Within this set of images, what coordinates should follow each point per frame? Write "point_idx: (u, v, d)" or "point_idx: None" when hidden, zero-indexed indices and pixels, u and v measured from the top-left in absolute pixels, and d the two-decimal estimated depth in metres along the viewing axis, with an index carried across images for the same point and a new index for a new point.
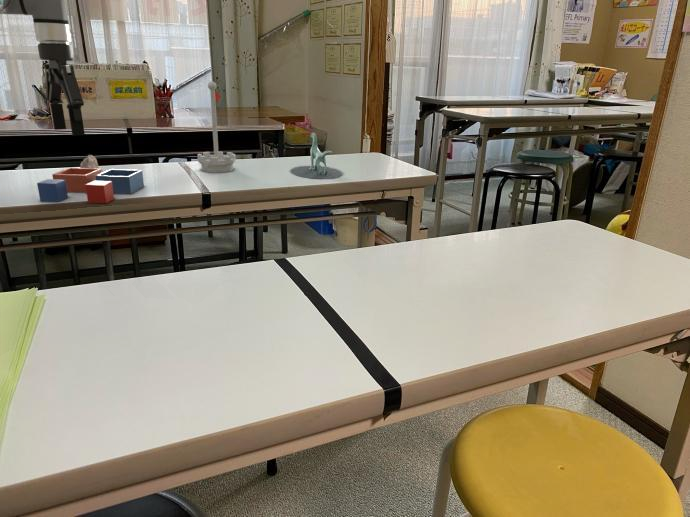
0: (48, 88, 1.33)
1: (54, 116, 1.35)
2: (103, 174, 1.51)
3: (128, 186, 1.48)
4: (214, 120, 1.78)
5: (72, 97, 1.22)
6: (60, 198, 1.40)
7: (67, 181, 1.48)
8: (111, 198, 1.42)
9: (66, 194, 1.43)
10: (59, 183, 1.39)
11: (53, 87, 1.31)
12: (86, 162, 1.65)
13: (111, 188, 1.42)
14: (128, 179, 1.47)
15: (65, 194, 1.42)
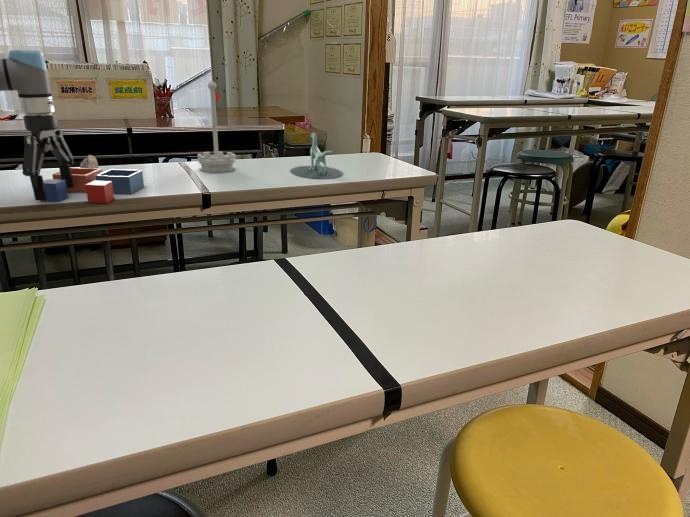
0: None
1: (62, 176, 1.46)
2: (103, 174, 1.51)
3: (128, 186, 1.48)
4: (214, 120, 1.78)
5: (23, 167, 1.29)
6: (60, 198, 1.40)
7: None
8: (111, 198, 1.42)
9: (66, 194, 1.43)
10: (59, 183, 1.39)
11: (52, 152, 1.41)
12: (86, 162, 1.65)
13: (111, 188, 1.42)
14: (128, 179, 1.47)
15: (65, 194, 1.42)
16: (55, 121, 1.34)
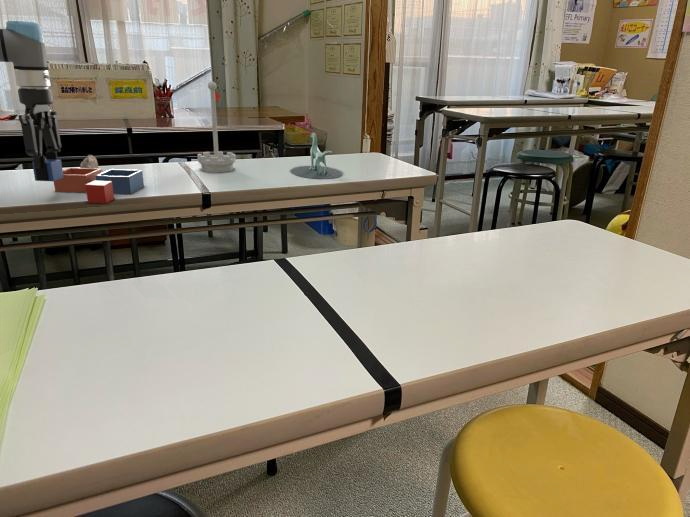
0: None
1: None
2: (103, 174, 1.51)
3: (128, 186, 1.48)
4: (214, 120, 1.78)
5: (26, 147, 1.30)
6: (55, 178, 1.38)
7: (67, 181, 1.48)
8: (111, 198, 1.42)
9: (62, 175, 1.41)
10: (55, 162, 1.37)
11: (42, 132, 1.37)
12: (86, 162, 1.65)
13: (111, 188, 1.42)
14: (128, 179, 1.47)
15: (60, 174, 1.40)
16: (50, 96, 1.32)
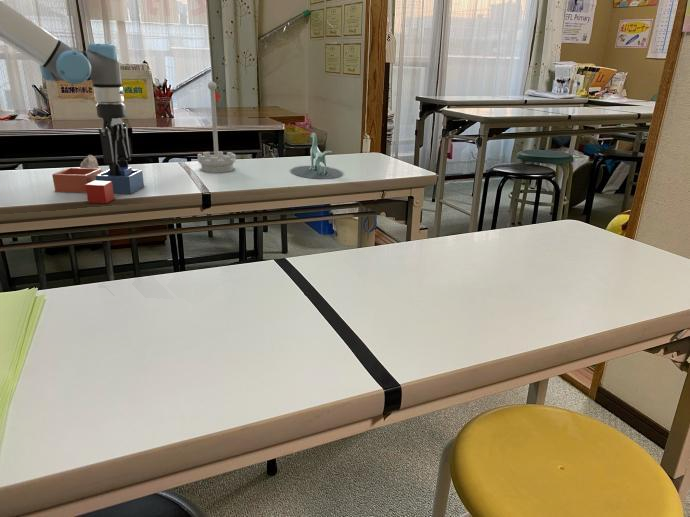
0: None
1: None
2: (103, 174, 1.51)
3: (128, 186, 1.48)
4: (214, 120, 1.78)
5: (104, 157, 1.44)
6: None
7: (67, 181, 1.48)
8: (111, 198, 1.42)
9: None
10: (127, 170, 1.51)
11: None
12: (86, 162, 1.65)
13: (111, 188, 1.42)
14: (128, 179, 1.47)
15: None
16: (124, 110, 1.45)
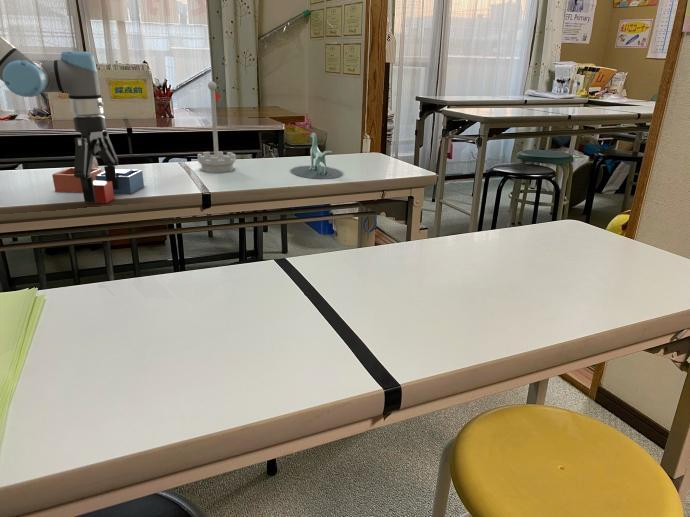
0: None
1: (107, 177, 1.46)
2: (103, 174, 1.51)
3: (128, 186, 1.48)
4: (214, 120, 1.78)
5: (75, 169, 1.28)
6: None
7: (67, 181, 1.48)
8: (111, 198, 1.42)
9: None
10: (127, 172, 1.51)
11: (99, 153, 1.41)
12: None
13: (111, 188, 1.42)
14: (128, 179, 1.47)
15: None
16: (104, 122, 1.34)
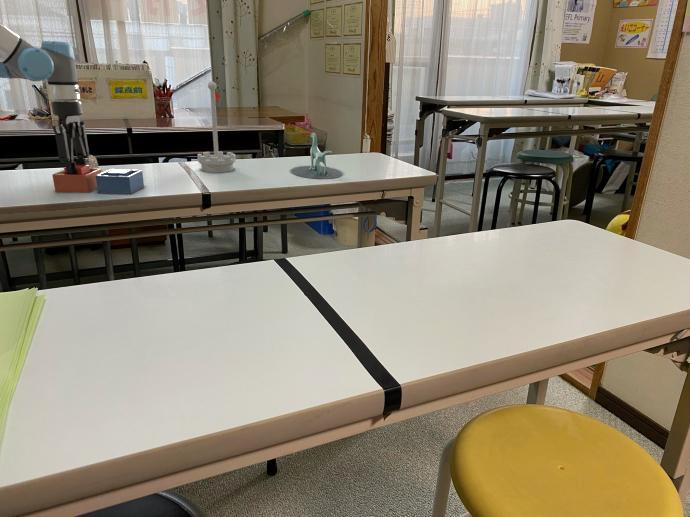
0: None
1: None
2: (103, 174, 1.51)
3: (128, 186, 1.48)
4: (214, 120, 1.78)
5: (59, 155, 1.44)
6: None
7: (67, 181, 1.48)
8: None
9: None
10: (127, 172, 1.51)
11: (73, 140, 1.50)
12: (86, 162, 1.65)
13: (88, 171, 1.53)
14: (128, 179, 1.47)
15: None
16: (80, 107, 1.45)
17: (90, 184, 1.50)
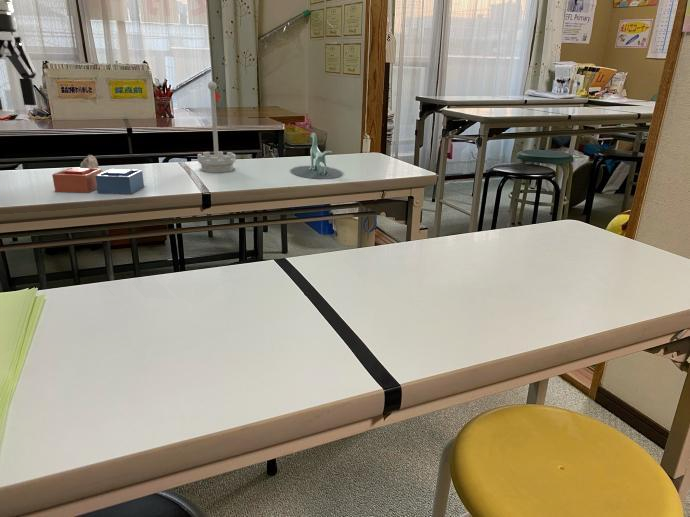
0: None
1: (23, 91, 1.33)
2: (103, 174, 1.51)
3: (128, 186, 1.48)
4: (214, 120, 1.78)
5: None
6: None
7: (67, 181, 1.48)
8: None
9: None
10: (127, 172, 1.51)
11: (12, 61, 1.28)
12: (86, 162, 1.65)
13: None
14: (128, 179, 1.47)
15: None
16: (13, 22, 1.21)
17: (90, 184, 1.50)
